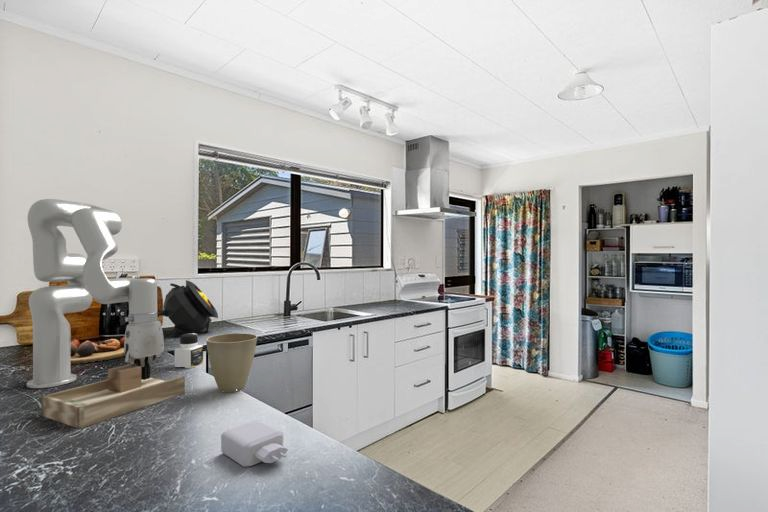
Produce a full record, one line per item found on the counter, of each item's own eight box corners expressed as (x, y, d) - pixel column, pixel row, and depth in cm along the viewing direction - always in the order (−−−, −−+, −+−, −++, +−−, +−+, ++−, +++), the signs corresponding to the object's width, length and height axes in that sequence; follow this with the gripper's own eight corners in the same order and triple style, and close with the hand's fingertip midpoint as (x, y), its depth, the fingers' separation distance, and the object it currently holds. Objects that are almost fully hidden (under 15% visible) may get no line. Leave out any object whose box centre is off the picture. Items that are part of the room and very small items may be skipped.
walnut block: (108, 389, 116) (108, 369, 116) (129, 384, 122) (129, 364, 122) (120, 392, 114) (120, 371, 114) (141, 386, 119) (141, 366, 119)
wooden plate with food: (145, 345, 190) (144, 327, 190) (125, 360, 159) (124, 340, 159) (64, 352, 179) (63, 333, 180) (26, 370, 149) (25, 347, 149)
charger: (260, 481, 73) (221, 454, 83) (301, 461, 80) (260, 439, 90) (260, 455, 73) (221, 431, 83) (301, 438, 80) (260, 418, 90)
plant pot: (210, 400, 114) (210, 344, 114) (202, 386, 127) (202, 336, 127) (263, 391, 122) (262, 338, 122) (250, 378, 135) (250, 331, 135)
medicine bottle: (191, 368, 147) (191, 336, 148) (174, 367, 149) (174, 335, 149) (203, 363, 154) (203, 332, 155) (187, 362, 156) (187, 332, 156)
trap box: (41, 415, 104) (41, 396, 104) (147, 384, 129) (147, 369, 129) (79, 428, 96) (79, 407, 96) (184, 393, 120) (184, 376, 121)
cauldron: (169, 320, 231) (206, 293, 239) (191, 352, 217) (229, 322, 225) (140, 296, 208) (182, 267, 217) (162, 330, 195) (206, 298, 203)
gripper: (126, 323, 115) (126, 387, 114) (173, 316, 128) (174, 373, 128) (110, 321, 118) (111, 384, 118) (158, 314, 131) (159, 371, 131)
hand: (144, 378), depth 123 cm, fingers closed
